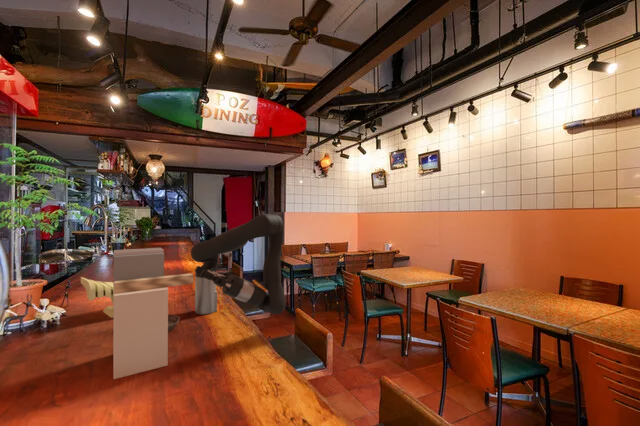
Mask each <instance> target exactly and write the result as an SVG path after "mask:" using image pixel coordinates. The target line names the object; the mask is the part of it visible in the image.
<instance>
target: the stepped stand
mask: <svg viewBox="0 0 640 426" xmlns="http://www.w3.org/2000/svg"><path fill="white" fill-rule="evenodd" d="M161 276H165V253H164V249H163V248H162V247H149V248H135V249H134V248H132V249H131V248H130V249H114V250H113V282H114V281H122V280H132V279H141V278H151V277H161ZM168 315H169V287H163V288H155V289H147V290H139V291H131V292H123V293H115V294H114V309H113V318H112V319H113V320H112V321H113V323H112V324H113V331H112V332H113V336H112V337H113V338H112V339H113V340H112V341H113V342H112V345H113V346H112V348H113V350H112V351H113V352H112V354H113V356H112V357H113V360H112V361H113V365H112V368H113V380H116V379H117V380H118V379H120V378H123V377H124V378H125V377H129V376H132V375H136V374H140V373H143V372H144V373H145V372H147V371H151V370H155V369H160V368H163V367H166V366H169V365H168V364H169V363H168V361H169V360H168V359H169V358H168V357H169V356H168V355H169V354H168V353H169V351H168V350H169V349H168V348H169V347H168V346H169V342H168V341H169V331H168Z"/></svg>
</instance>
